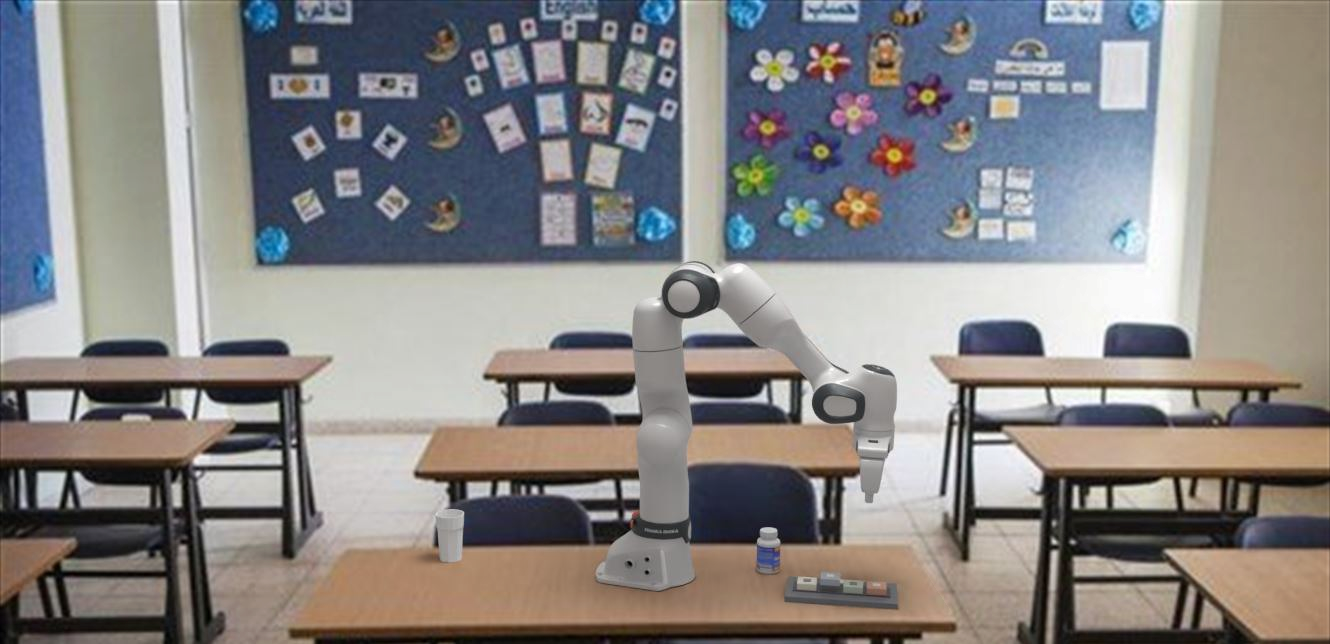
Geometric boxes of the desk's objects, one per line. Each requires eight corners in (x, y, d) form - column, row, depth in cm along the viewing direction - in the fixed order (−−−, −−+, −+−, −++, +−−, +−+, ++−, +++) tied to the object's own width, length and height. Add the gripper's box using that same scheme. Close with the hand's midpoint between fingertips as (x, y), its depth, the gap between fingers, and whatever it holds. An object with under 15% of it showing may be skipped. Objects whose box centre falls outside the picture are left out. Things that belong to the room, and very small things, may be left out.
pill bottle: (778, 575, 283) (779, 534, 282) (754, 573, 285) (755, 532, 283) (781, 567, 289) (782, 527, 287) (757, 565, 290) (758, 525, 288)
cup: (462, 563, 289) (461, 518, 287) (434, 563, 289) (432, 517, 288) (467, 553, 296) (466, 509, 294) (439, 553, 296) (438, 509, 294)
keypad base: (784, 601, 268) (784, 594, 268) (788, 581, 280) (788, 574, 280) (897, 609, 264) (897, 602, 264) (896, 588, 276) (896, 582, 276)
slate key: (820, 584, 270) (820, 578, 270) (820, 577, 275) (821, 571, 274) (839, 586, 270) (839, 579, 270) (840, 579, 274) (840, 572, 274)
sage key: (843, 592, 270) (843, 586, 270) (843, 585, 274) (843, 579, 274) (862, 593, 269) (863, 587, 269) (862, 586, 273) (863, 580, 273)
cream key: (796, 589, 272) (797, 582, 271) (798, 582, 276) (798, 576, 275) (816, 590, 271) (816, 584, 271) (817, 583, 275) (817, 577, 275)
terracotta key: (866, 594, 269) (866, 587, 269) (866, 587, 273) (866, 580, 273) (886, 595, 268) (886, 588, 268) (886, 588, 273) (886, 581, 272)
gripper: (859, 426, 280) (855, 486, 283) (857, 450, 260) (852, 514, 263) (887, 429, 279) (883, 488, 282) (887, 453, 259) (883, 516, 262)
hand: (868, 501), depth 272 cm, fingers closed
